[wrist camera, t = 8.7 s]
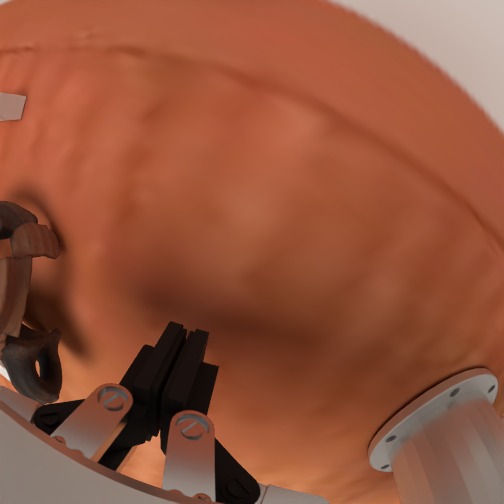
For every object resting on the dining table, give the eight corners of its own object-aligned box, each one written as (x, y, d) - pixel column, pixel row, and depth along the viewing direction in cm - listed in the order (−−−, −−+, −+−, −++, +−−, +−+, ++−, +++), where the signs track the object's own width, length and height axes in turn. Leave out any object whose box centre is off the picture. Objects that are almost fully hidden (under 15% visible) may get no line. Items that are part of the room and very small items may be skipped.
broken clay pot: (-10, 268, 14) (-76, 248, 6) (64, 201, 16) (5, 147, 8) (52, 402, 13) (-10, 440, 5) (140, 347, 16) (91, 378, 8)
